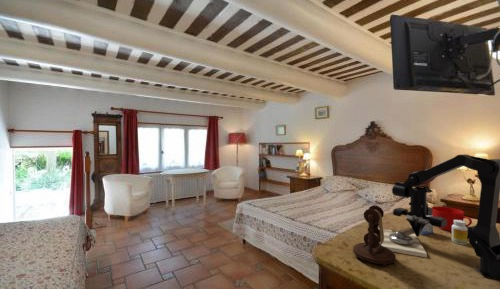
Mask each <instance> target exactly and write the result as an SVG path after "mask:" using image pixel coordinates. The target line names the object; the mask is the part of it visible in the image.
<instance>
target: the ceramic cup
mask: <svg viewBox="0 0 500 289" xmlns="http://www.w3.org/2000/svg"><path fill="white" fill-rule="evenodd" d="M431 208H432V209H433V212H432V216H433V217H434V216H437V217H442V218H445V219H446V221H447V225H446V226H444V227H438V228H439V229H441V230H444V231H446V232H447V231H448V232H452V225H453V224H454V220H461V221H464V219H467V220H468V224H466V225H465V227H467V228H468V227H471V225H472V223H473V221H472V218H470V217H468V216H465V211H463V210H461V209H458V208H455V207H448V206H441V205H440V206H432V207H431Z"/></svg>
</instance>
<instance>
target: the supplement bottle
mask: <svg viewBox="0 0 500 289" xmlns="http://www.w3.org/2000/svg"><path fill="white" fill-rule="evenodd" d="M465 225H467V224H466V221H464V220H463V221H461V220H454V224H453V225H452V231H451V243H455V244H457V245H462V246H464V245H465V246H466V245H468V238H467V236H468V226H467V227H465Z"/></svg>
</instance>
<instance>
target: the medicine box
mask: <svg viewBox="0 0 500 289" xmlns="http://www.w3.org/2000/svg"><path fill="white" fill-rule="evenodd" d="M426 216H427V215H426ZM427 217H433V216H430V215H429V216H427ZM421 218H422V217H421ZM429 234H430V235H431V234H434V226H432V225H431V224H430V223H429V224H426V225H425V226H424V228H423V230H422V232H421V234H420V236H422V235H429Z"/></svg>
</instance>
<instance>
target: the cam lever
mask: <svg viewBox="0 0 500 289" xmlns="http://www.w3.org/2000/svg"><path fill="white" fill-rule="evenodd" d="M394 231H395V233H391V234H389V239H390V240H391V241H392V242H394V243H397V244H401V245H413V242H414V240H413V238H412V237H410V236H408V235H411V234H415V232H414V230H413V228H412V226H411V225H410V226H409V227H405V228H403V229H400V230H394ZM415 235H416V234H415Z"/></svg>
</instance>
